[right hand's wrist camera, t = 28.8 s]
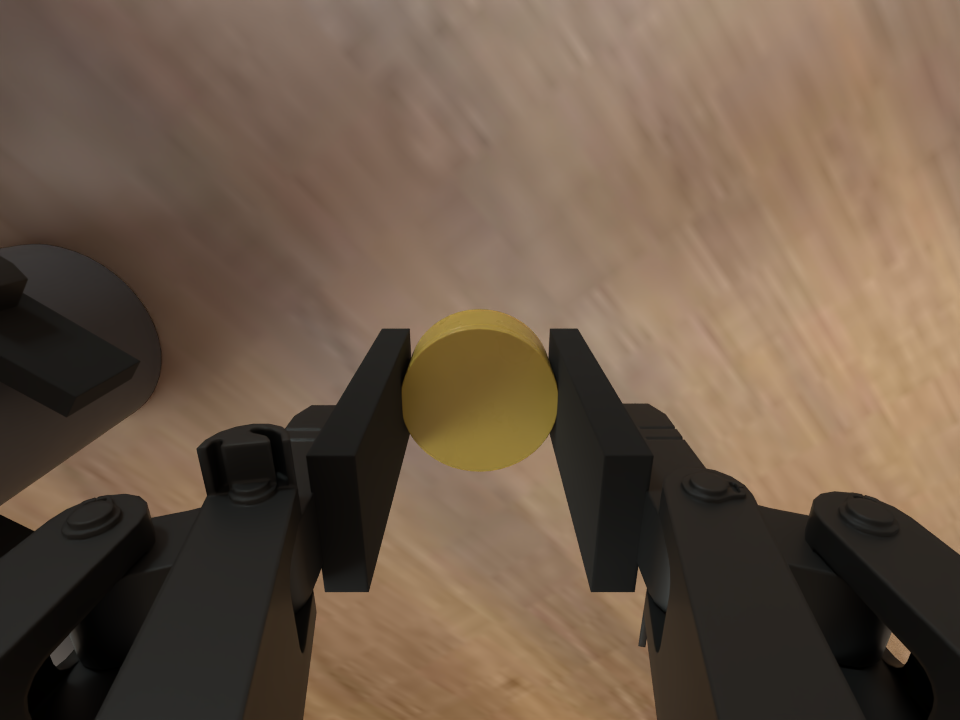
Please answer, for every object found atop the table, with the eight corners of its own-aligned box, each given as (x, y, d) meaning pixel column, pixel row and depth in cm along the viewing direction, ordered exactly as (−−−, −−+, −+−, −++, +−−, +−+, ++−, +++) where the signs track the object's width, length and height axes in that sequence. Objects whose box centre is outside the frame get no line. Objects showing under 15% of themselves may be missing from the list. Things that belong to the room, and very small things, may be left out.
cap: (491, 279, 13) (493, 294, 12) (577, 386, 14) (590, 415, 13) (380, 366, 14) (366, 392, 12) (469, 461, 15) (467, 497, 13)
